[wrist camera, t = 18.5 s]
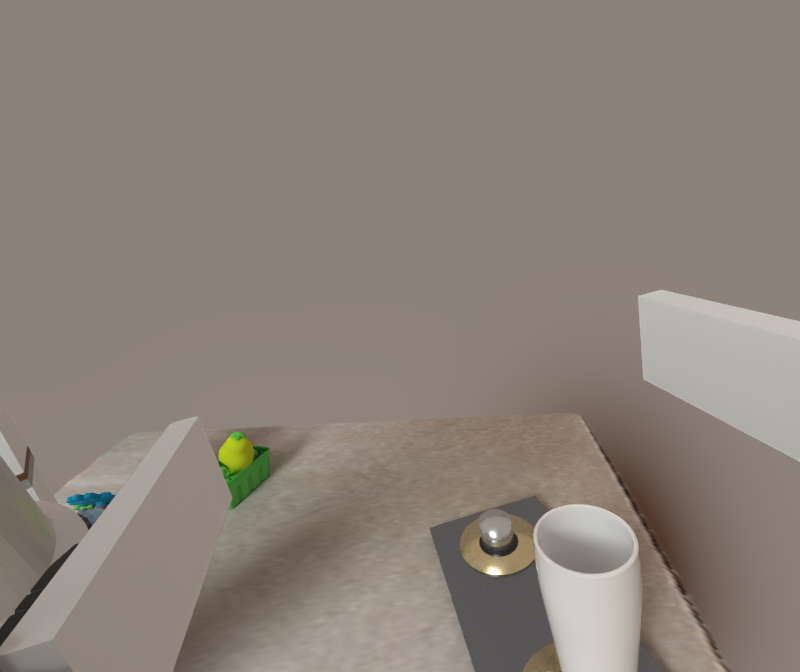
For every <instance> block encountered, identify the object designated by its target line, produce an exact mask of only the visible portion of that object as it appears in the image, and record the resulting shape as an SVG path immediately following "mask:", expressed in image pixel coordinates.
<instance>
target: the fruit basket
mask: <svg viewBox="0 0 800 672" xmlns="http://www.w3.org/2000/svg"><path fill="white" fill-rule="evenodd" d="M269 452H270V448H269V447H261V446H252V444H251V442H250V441H249V440H248V439H247V438H246V435H245V434H244V433H243V432H240V431H239V432H233V433H232V434H231V435H230V436H229V438H228V439H227V440H226V442H225V443H224V444H223V445H222V447H221V448H220V450H219V453H218V457H219V462H218V464H219V466H220V468H221V471H222V473H223V476H224V478H225V481H226V483H227V486H228V488H229V490H230V493H231V495H232V501H231V504H230V507H229V508H230V509H233V508H234V507H235V506H236V505H237V504H239V502H240V501H241V500H243V499H244V498H245V497H246V496H247V495H248V494H249V493H250V492H251V491H252V490H254V489H255V488H256V487H257V486H258V485H259V484H260V483H261V482H262V481H263V480H265V479H266V478H267V477H268V476H269V475H270V473H269Z"/></svg>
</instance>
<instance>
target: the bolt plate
mask: <svg viewBox="0 0 800 672" xmlns="http://www.w3.org/2000/svg"><path fill="white" fill-rule="evenodd" d="M545 513H547V512H546V511H545V509H544V508H543V507H542V505H541V504H540V503H539V501H538V500H537V498H536V497H535V496H533V497H530V498H526V499H523V500H520V501H517V502H513V503H510V504H507V505H504V506H500V507H497V508H494V509H491V510H487V511H484V512H481V513H477V514H474V515H471V516H468V517H464V518H461V519H458V520H455V521H451V522H448V523H445V524H442V525H438V526H435V527H432V528H430V530H431V534H432V537H433V540H434V544H435V547H436V550H437V553H438V556H439V559H440V563H441V566H442V569H443V572H444V575H445V578H446V582H447V585H448V588H449V591H450V594H451V597H452V601H453V604H454V607H455V610H456V613H457V616H458V619H459V623H460V626H461V629H462V632H463V635H464V638H465V642H466V645H467V648H468V651H469V654H470V657H471V661H472V664H473V667H474V670H475V672H561V668H560V664H559V660H558V656H557V652H556V648H555V644H554V640H553V636H552V632H551V629H550V625H549V621H548V617H547V614H546V610H545V606H544V602H543V598H542V594H541V590H540V586H539V581H538V575H537V569H536V561H535V552H534V540H533V533H534V528H535V525H536V523H537V522H538V520H539V519H540V518H541V517H542V516H543V515H544V514H545ZM638 672H662V671H661V669H660V668H659V667H658V665H657V664H656V663H655V661H654V660H653V658H652V657H651V656H650V654H649V653H648V652H647V650H646V649H645V647H644V646H643V645H642V643H641V642H640V647H639V663H638Z"/></svg>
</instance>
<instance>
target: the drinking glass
mask: <svg viewBox="0 0 800 672" xmlns="http://www.w3.org/2000/svg"><path fill="white" fill-rule="evenodd" d="M533 540H534V552H535V561H536V569H537V575H538V581H539V586H540V590H541V594H542V598H543V602H544V606H545V610H546V614H547V617H548V621H549V625H550V629H551V632H552V636H553V640H554V644H555V648H556V652H557V656H558V660H559V664H560V668H561V672H638V663H639V647H640V632H641V619H642V602H643V585H642V569H641V560H640V552H639V544H638V540H637V537H636V535H635V533H634V531H633V529H632V528H631V527H630V526H629V525H628V523H627V522H625V521H624V520H623V519H622V518H621V517H619V516H618V515H616V514H614V513H612V512H610V511H608V510H606V509H603V508H600V507H597V506H592V505H586V504H570V505H564V506H560V507H557V508H554V509H552V510H550V511H548V512H547V513H545V514H544V515H543V516H542V517H541V518H540V519H539V520H538V522H537V523H536V525H535V528H534V533H533Z"/></svg>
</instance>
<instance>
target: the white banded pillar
mask: <svg viewBox="0 0 800 672" xmlns="http://www.w3.org/2000/svg"><path fill="white" fill-rule="evenodd" d="M0 456H1V457H2V458H3V460H4V461H5V462H6V464H7V465H8V466H9V468H10V469H11V470H12V472H13V473H14V474H15V476H16V477H17V478H18V480H19V481H20V482H21V484H22V485H23V486H24V488H25V489H26V490H27V492H28V493H29V494H30V496H31V497H32V498H33V500H34V501H45V502H51V503H57V501H56V499H55V497H54V496H53V494H52V492H51V490H50V488H49V487H48V485H47V483H46V481H45V479H44V478H43V476H42V474H41V472H40V471H39V466H38V464H37V462H36V460H35V458H34V457H33V455H32V453H31V451H30V449H29V447H28V446H27V444H26V442H25V440H24V439H23V437H22V435H21V433H20V431H19V430H18V428H17V426H16V424H15V423H14V420H13V419H12V417H11V415H10V413H9V411H8V410H7V408H6V406H5V404H4V403H3V401H2V399H1V397H0ZM57 504H58V503H57Z"/></svg>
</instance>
